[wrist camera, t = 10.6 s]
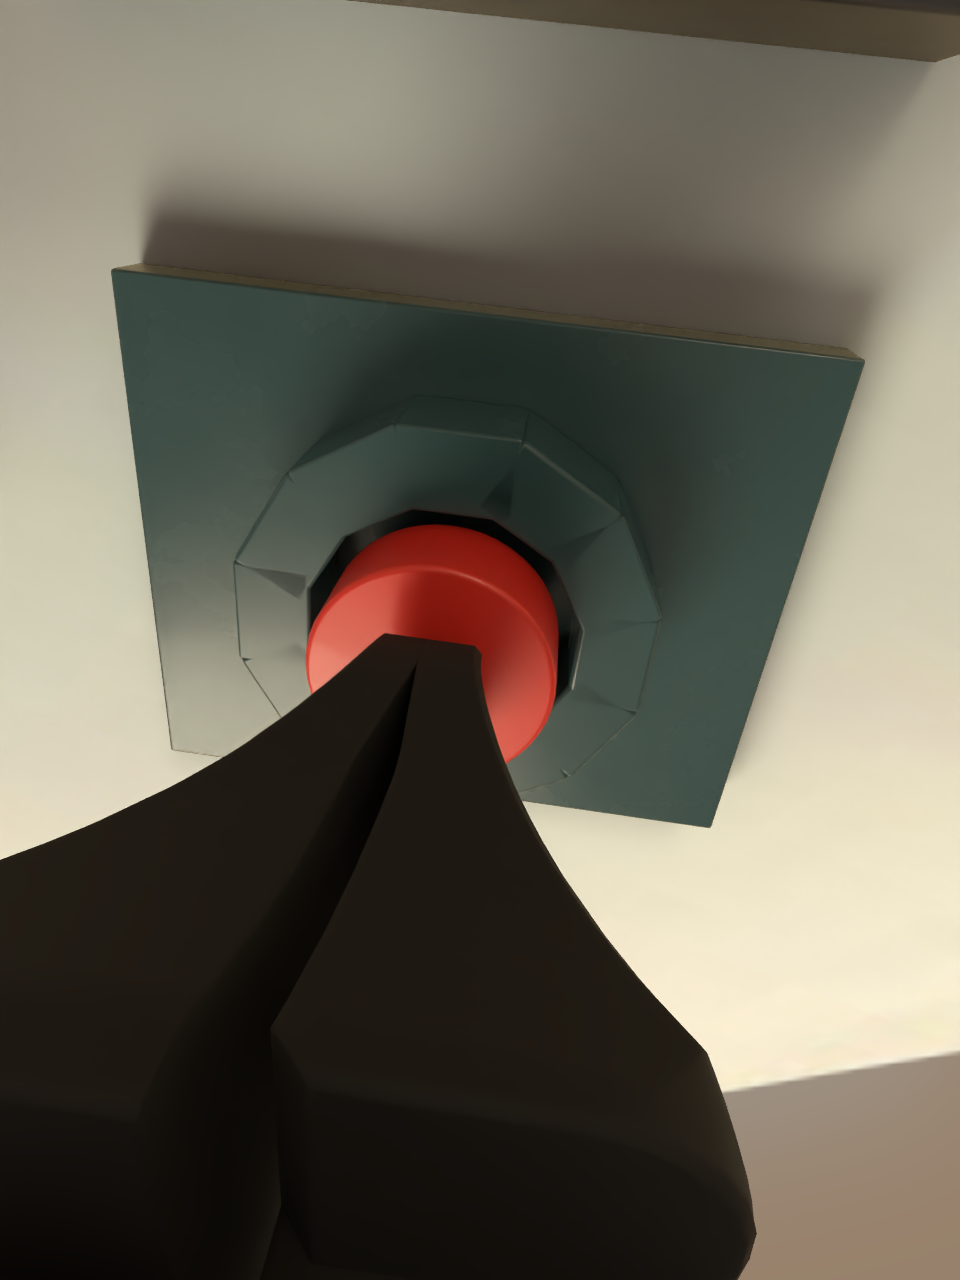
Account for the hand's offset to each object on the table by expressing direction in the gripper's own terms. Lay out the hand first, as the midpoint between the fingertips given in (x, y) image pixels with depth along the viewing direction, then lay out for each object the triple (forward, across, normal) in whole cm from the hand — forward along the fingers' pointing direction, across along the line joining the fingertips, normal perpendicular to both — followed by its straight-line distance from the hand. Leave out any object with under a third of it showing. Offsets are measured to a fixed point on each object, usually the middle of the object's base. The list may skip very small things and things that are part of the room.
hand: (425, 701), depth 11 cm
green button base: (+4, 0, 0) cm, 4 cm away
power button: (+2, 0, 0) cm, 2 cm away
